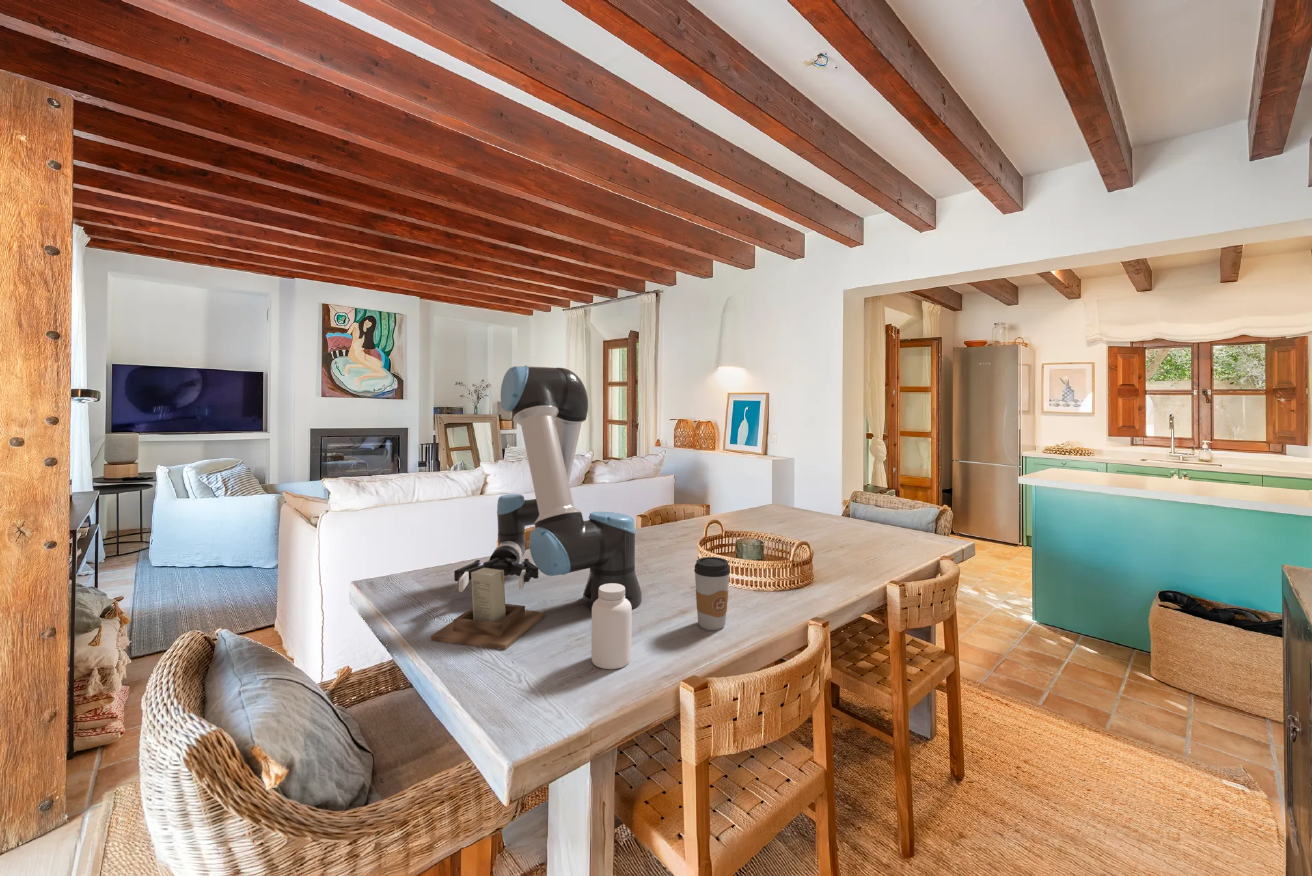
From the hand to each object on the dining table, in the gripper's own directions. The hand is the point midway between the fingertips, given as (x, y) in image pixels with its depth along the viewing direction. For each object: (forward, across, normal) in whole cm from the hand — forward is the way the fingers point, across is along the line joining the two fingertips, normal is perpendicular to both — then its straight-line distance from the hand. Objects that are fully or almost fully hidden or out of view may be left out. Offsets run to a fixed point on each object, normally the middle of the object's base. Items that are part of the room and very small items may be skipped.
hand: (490, 585), depth 124 cm
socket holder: (+3, 0, -9) cm, 9 cm away
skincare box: (+2, 0, -8) cm, 9 cm away
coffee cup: (+7, -51, -9) cm, 52 cm away
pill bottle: (+21, -28, -9) cm, 36 cm away
